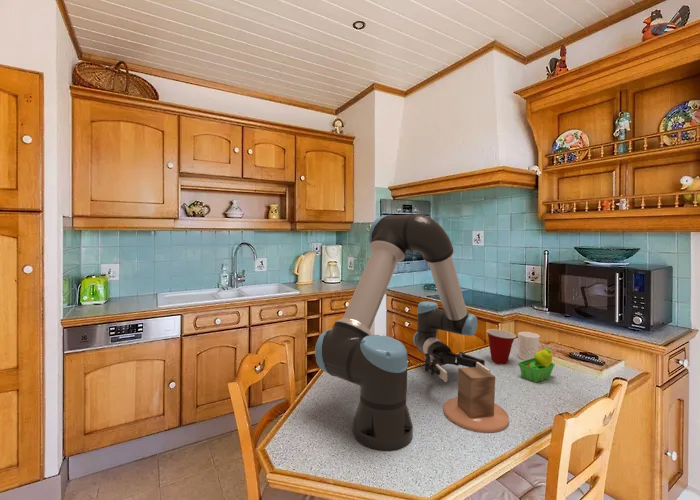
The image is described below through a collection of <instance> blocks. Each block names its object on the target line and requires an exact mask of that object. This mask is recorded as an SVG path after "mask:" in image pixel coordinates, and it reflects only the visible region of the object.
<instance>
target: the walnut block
mask: <svg viewBox="0 0 700 500" xmlns="http://www.w3.org/2000/svg"><path fill="white" fill-rule="evenodd" d="M457 380H458V381H457V385H458V386H457V397H458V404H457V406H458V407H459V408H460V409H461V410H462V411H463V412H464V413H465V414H466V415H467V416H468V417H469V418H481V417H492V416H494V403H495V401H496V400H495V398H496V397H495V396H496V395H495V394H496V393H495V392H496V391H495V390H496V376H495V375H494V374H492V373H491V372H490V373H489V372H488V371H486V370H485V369H483V368H482V367H458V376H457Z"/></svg>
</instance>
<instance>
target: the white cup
mask: <svg viewBox="0 0 700 500" xmlns="http://www.w3.org/2000/svg"><path fill="white" fill-rule="evenodd" d="M517 336H518V337H517V340H518V341H517V347H518V358H519V359H521V360H523V361H525V360H529V359H532V358H534V355H535V353H537V352H539V348H540V337H541V336H540V334H537V333H533V332H530V331H519V332H517Z"/></svg>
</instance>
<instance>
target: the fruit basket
mask: <svg viewBox="0 0 700 500" xmlns="http://www.w3.org/2000/svg"><path fill="white" fill-rule="evenodd" d="M552 358H553V353H552V350H551V349H549V348H546V347H545V348H543V349H542V350H538V352H537V353H535V355H534V358H532V359H529V360H523V361H519V362H518V366H519V368H520V373H521V377H522V378H523V379H526V380H529V381H532V382H534V383H539V382H541V381H543V380H546V379H550V377H551V375H552V372H553V369H554V368H555V366H556V365H555V363H553V362H552V361H553V359H552Z"/></svg>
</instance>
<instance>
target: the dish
mask: <svg viewBox="0 0 700 500" xmlns="http://www.w3.org/2000/svg"><path fill="white" fill-rule="evenodd" d="M457 404H458V396H455V397H451V398H449V399H447V400H446V401H445V402H444V404H443V414H444V415H445V417H446V418H447V420H449V421H450V422H451V423H453V424H454V425H456V426H459V427H461V428H462V429H465V430H468V431H472V432H478V433H485V434H486V433H487V434H488V433H498V432H501V431H504V430H505V429H507V428H508V427H509V424H510V423H509V422H510V417H509V413H508V412H507V411H506V410H505V409H504V408H503V407H502V406H500V405H499V404H497V403H495V402H494V416H492V417H481V418H469V417H468V416H467V415H466V414H465V413H464V412H463V411H462V410H461V409H460V408H459V407H458V406H457Z"/></svg>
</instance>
